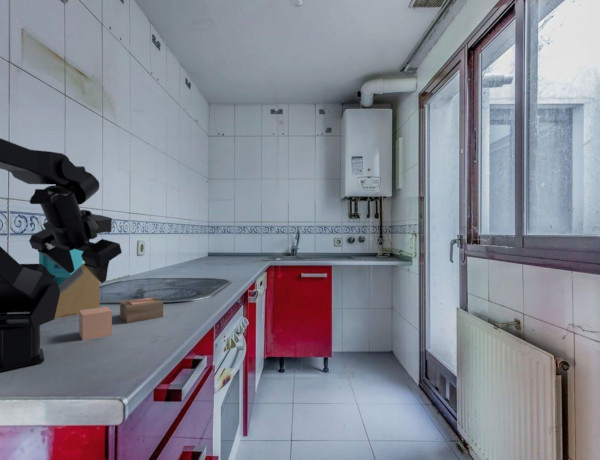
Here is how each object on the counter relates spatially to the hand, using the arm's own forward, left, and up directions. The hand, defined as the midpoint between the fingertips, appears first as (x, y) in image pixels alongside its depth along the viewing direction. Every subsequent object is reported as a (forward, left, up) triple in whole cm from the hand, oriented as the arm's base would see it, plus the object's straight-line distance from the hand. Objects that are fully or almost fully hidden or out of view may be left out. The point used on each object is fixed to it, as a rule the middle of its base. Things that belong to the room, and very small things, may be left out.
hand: (87, 276), depth 70 cm
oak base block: (0, -11, -11) cm, 16 cm away
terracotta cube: (-8, 0, -11) cm, 14 cm away
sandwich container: (+18, +3, -12) cm, 21 cm away
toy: (+31, +2, -11) cm, 33 cm away
